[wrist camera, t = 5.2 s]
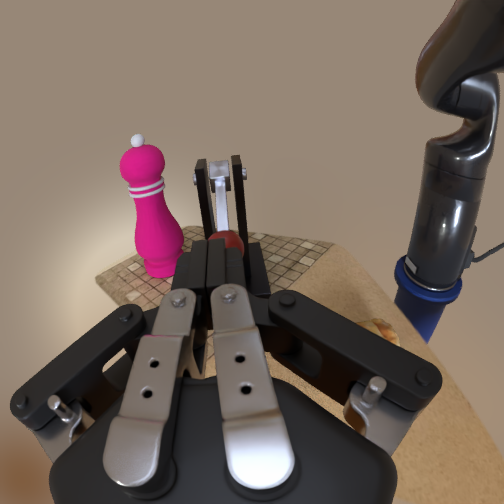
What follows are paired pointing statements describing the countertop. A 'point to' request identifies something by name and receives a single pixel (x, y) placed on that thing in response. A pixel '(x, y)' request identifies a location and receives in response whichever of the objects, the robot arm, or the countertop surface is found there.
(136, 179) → the pepper mill
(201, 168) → the bracket
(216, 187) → the lever
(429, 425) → the countertop surface
